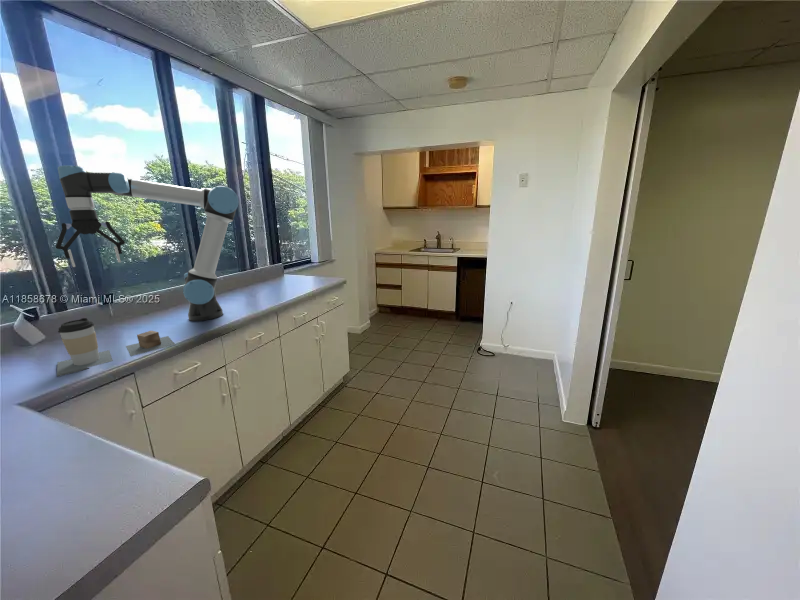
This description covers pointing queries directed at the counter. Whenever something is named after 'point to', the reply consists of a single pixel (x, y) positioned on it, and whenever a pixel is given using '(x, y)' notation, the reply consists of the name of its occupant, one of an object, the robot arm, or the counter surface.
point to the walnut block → (149, 339)
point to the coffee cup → (80, 341)
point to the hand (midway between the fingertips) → (97, 264)
